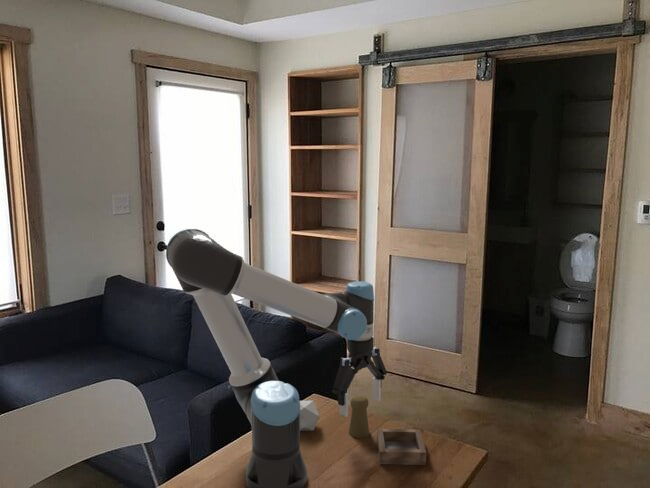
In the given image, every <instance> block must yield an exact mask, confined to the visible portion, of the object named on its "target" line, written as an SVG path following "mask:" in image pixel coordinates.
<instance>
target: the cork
mask: <svg viewBox="0 0 650 488" xmlns="http://www.w3.org/2000/svg"><path fill="white" fill-rule="evenodd" d="M350 407H351V413H350V414H351V415H350V422H349V429H348V435H349V436H350V437H352V438H355V439H364V438H367V437H368V436H369V435H370V428H369V419H368V410H367V408H368V407H369V399H368V398H367V396H365V395H362V394H361V395H360V394H357V395H354V396H352V397H351V398H350Z"/></svg>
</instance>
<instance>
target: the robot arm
mask: <svg viewBox="0 0 650 488" xmlns="http://www.w3.org/2000/svg"><path fill="white" fill-rule="evenodd" d="M166 245H167V246H166V249H165V258H166V262H167V264H168V265H169V266H170V268H171V269H172V270H173V271H172V272H173V273H174V275H175V277H176V279H177V280H178V283H179V284H180V287H181V289H182V291H183V292H184V293H185V294H188V295H190V296H192V297H193V299H194V300H195V302H196V304H197V306H198V309H199V311H200V312H201V315H202V317H203V318H204V321H205V322H206V325H207V327H208V329H209V331H210V332H211V335H212V337H213V338H214V341H215V343H216V344H217V347H218V349H219V351H220V353H221V355H222V357H223V359H224V361H225V363H226V365H227V367H228V369H229V371H230V376H229V377H228V382H229V384H230V386H231V388H232V391H233V392H234V395H235V399H236V400H237V401H236V402H238V404H239V405H240V407H241V408H242V410H243V412H244V414H245V415H246V418H247V420H248V422H249V423H250V425H251V427H250V428H251V446H252V448H251V449H252V451H251V455H250V457H249V461H248V463H247V467H246V470H245V485H246V487H247V488H304V487H305V485H306V484H307V481H308V469H307V466H306V462H305V460H304V457H303V453H302V452H301V448H300V447H301V446H300V445H301V443H300V441H301V434H300V433H301V431H300V401H301V400H300V395H299V394H300V393H299V391H298V390H297V388H296V387H294V386H293V385H292V384H290V383H288V382H287V383H285V382H284V381H281V380H279V378H278V376H277V374H276V372H275V369H274V368H273V366H272V363H271V361H270V360H269V359H268V358H266V357H265V358H264V357H261V353H260V352H259V350H258V347H257V345H256V343H255V341H254V339H253V337H252V335H251V333H250V331H249V328H248V327H247V325H246V323H245V320H244V318H243V316H242V313H241V312H240V310H239V308H238V304H237V303H236V302H235V299H234V296H233V295H235V296H238V297H240V298H244V299H246V300H248V301H251V302H254V303H257V304H259V305H262V306H264V307H267V308H270V309H273V310H275V311H278V312H281V313H284V314H286V315H288V316H292V317H294V318H295V319H296V318H297V319H300V320H301V321H302V320H303V321H305V322H308V323H310V324H313V325H316V326H319V327H321V328H323V329H325V330H328V331H331V332H333V333H336V334H338V335H340V337H341V338H344V339H346V349H347V351H348V353H349V354H348V357H345V358H344V357H340V358H339V368H338V369H337V373H336V376H335V380H334V384H333V385H332V386H333V387H332V389H331V392H332V393H334V395H337V403H338V405H339V408H338V410H339V411H338V414H339V415H342V416H343V417H345V418H347V417H349V394H348V393H347V391H348V390H349V388H350V386H351V383H352V382H353V379H354V378H355V376H356V374H358V373H359V371H361V370H362V369H366V368H367V369H368V371H370V373H371V374H372V375H373V377H372V378H371V399H372V400H374V401H377V402H380V401H382V400H381V398H382V396H381V394H382V393H381V392H382V391H381V389H382V380H383V381H384V380H385V377H386V375H387V373H388V372H387V369H386V367H385V364H384V361H383V359H382V356H381V353H380V352H381V349H380V348H379V347H376V346H375V342H374V340H375V339H374V323H375V321H374V320H375V319H374V317H375V316H374V314H375V313H374V310H375V309H374V306H375V305H374V303H375V296H374V295H375V293H374V286H373V284H371V283H370V282H367V281H361V280H360V281H359V280H358V281H352V282H348V283H347V285H346V287H345V291H339V292H332V293H330V292H329V293H321V292H320V293H319V292H317V291H315V290H312V289H310V288H308V287H306V286H303V285H300V284H297V283H295V282H293V281H290V280H287V279H285V278H282V277H280V276H278V275H276V274H272V273H271V272H268V271H266V270H263V269H261V268H260V267H259V268H258V267H255V266H254V265H251V264H248V263H246V262H245V260H244V258H243V256H241V255H238V254H237V253H234V252H232V251H230V250H228V249H227V248H225V247H224V246H222V245H221V244H219V242H216V240H214V239H213V238H212V237H210V235H209V234H208V233H207V232H205V231H203V230H201V229H198V228H185V229H182V230H180V231H178V232H177V233H175V234H174V235H173V236H172V237H171V238H170V239H169V241H168V243H167V244H166Z"/></svg>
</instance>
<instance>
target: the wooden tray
mask: <svg viewBox="0 0 650 488" xmlns="http://www.w3.org/2000/svg"><path fill="white" fill-rule="evenodd" d="M376 432H377V433H376V442H377V444H376V445H377V452H378V460H379V461H378V462H379V465H404V466H405V465H407V466H427V450H426V446H425V443H424V439H423V435H422V432H421V429H413V428H412V429H407V428H404V429H403V428H377V429H376Z"/></svg>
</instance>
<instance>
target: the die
mask: <svg viewBox="0 0 650 488" xmlns="http://www.w3.org/2000/svg"><path fill="white" fill-rule="evenodd" d="M319 418H320V414H319V412H318V409H317V406H316V403H315V402H314V400H300V432H312V431H314V430H315V428H316V427H317V426H316V425H317V422H318V420H319Z"/></svg>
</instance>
